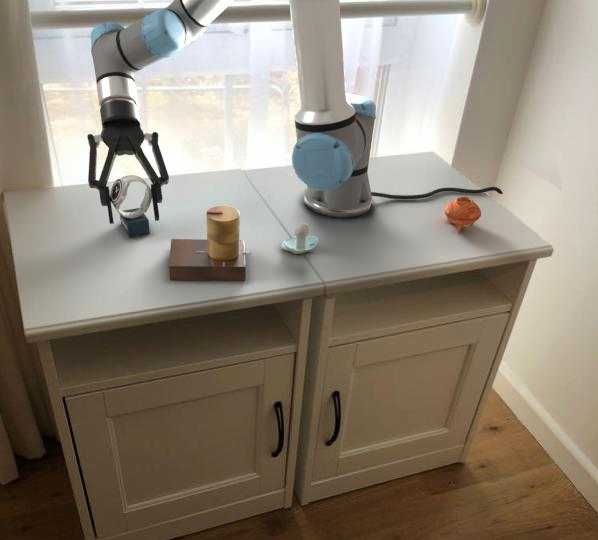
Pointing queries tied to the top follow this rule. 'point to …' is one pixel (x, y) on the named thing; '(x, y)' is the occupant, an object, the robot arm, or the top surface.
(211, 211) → the dial
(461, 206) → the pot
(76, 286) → the top surface
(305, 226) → the pacifier
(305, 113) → the robot arm
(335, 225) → the top surface
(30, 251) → the top surface
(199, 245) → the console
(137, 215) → the watch
